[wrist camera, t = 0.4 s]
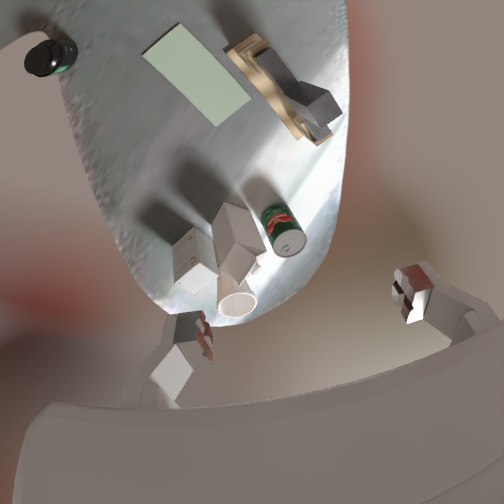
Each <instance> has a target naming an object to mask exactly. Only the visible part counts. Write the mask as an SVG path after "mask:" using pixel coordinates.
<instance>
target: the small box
mask: <svg viewBox="0 0 504 504" xmlns="http://www.w3.org/2000/svg"><path fill="white" fill-rule="evenodd" d="M173 271H174V284H176V285H177V286H179V287H181V288H183V289H184V290H186V291H188V292H190V293H191V294H193V295H196V294H197V293H198V292H199V291H201V290H202V289H203V288H205V287H206V286H207V285H208V284H210V283H211V282H212V281H214V280H215V279H216V278H218V277H219V272H218V268H217V263H216V258H215V254H214V249H213V244H212V240H211V239H210V238H209V237H207V236H206V235H205V234H204V233H202V232H201V231H200V230H198V229H197V228H196V227H193V228H192V229H191V230H189V231H188V232H187V233H186V234H185V235H184V236H183V237H182V238H181V239H179V240H178V241H177V242H176V243H175V244H174V245H173Z"/></svg>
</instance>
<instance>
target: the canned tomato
mask: <svg viewBox="0 0 504 504" xmlns="http://www.w3.org/2000/svg"><path fill="white" fill-rule="evenodd" d="M261 223H262V225H263V227H264V230H265V232H266V234H267V236H268V239H269V241H270V243H271V246H272V248H273V250H274V253H275V254H276V255H277V256H279V257H282V258H289V257H293V256H295V255H297V254H299V253H300V252H301V251H302V250H303V249H304V247H305V246H306V243H307V237H306V235H305V233H304V232H303V230H302V228H301V227H300V225H299V223H298V222H297V220H296V218H295V217H294V215H293V214H292V212H291V210H290V208H289V207H288V206H287V205H285V204H282V203H275V204H272V205H270V206H268V207H267V208H266V209H265V210H264V211H263V212H262V214H261Z"/></svg>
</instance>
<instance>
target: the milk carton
mask: <svg viewBox="0 0 504 504" xmlns="http://www.w3.org/2000/svg"><path fill="white" fill-rule="evenodd" d="M211 228H212V233H213V238H214V243H215V248H216V253H217V257H218V262H219V267H220V269H221V270H222V271H223V272H225V273H226V274H227V275H228V276H230V277H231V278H232V279H233V280H235V281H236V282H237V283H238V286H239V287H240V286H241V284H242V283H243V281H244V280H245V279H246V278H247V277H249V276H250V275H251V273H252V274H253V275H254V274H256V273H257V272H258V271H259V270H260V268H261V266H260V265H258V263H259V262H260V260H261V259H262V258H263V256H264V255H265V253H266V252H267V250H266V248H265V245H264V243H263V240H262V238H261V236H260V233H259V231H258V229H257V226H256V224H255V221H254V219H253V217H252V214H251V212H250V211H248V210H246V209H243V208H240V207H237V206H234V205H231V204H229V203H226V202H223V204H222V206H221V208H220V209H219V211H218V213H217V215H216V217H215V219H214V221H213V222H212V224H211Z"/></svg>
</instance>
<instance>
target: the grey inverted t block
mask: <svg viewBox="0 0 504 504" xmlns="http://www.w3.org/2000/svg"><path fill="white" fill-rule="evenodd" d="M252 58H253V60H254V61H255V62H256V63H257V64H258V65H259V67H260V68H261V69H262V70H263V71H264V73H265V74H266V75H267V76H268V78H269V79H270V80H271V81H272V83H273V84H274V85H275V86H276V88H277V89H278V90H279V92H280V93H281V94H282V95H283V97H284V98H285V99H286V101H287V102H288V103H289V105H290V106H291V107H292V109H293V110H294V112H295V113H296V114H297V116H298V117H299V118H300V120H301V121H302V123H303V124H304V125H305V127H306V128H307V130H308V131H309V133H310V134H311V136H312V137H313V138H315V139H316V140H317V141H321V140H322V139H324V138H325V137H326V136H328V135H329V134H330V133H332V132H331V131H330V129H329V128H328V126H327V124H329V123H330V122H331V121H333V120H334V119H336V118H337V117H338V116H340V115H341V114H343V113H342V111H341V109H340V108H339V106H338V104H337V103H336V101H335V99H334V98H333V96H332V94H331V93H330V91H329V90H326V89H323V88H320V87H317V86H315V85H312V84H309V83H306V82H302V81H300V82H298V81H297V80H296V79H295V77H294V76H293V75H292V73H291V72H290V71H289V69H288V68H287V67H286V65H285V64H284V63H283V61H282V60H281V59H280V58H279V56H278V55H277V54H276V52H275V51H274V50H273V49H272V47H270V48H265V49H263V50H262V51H260V52H259V53H257V54H256V55H255V56H253V57H252Z"/></svg>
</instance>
